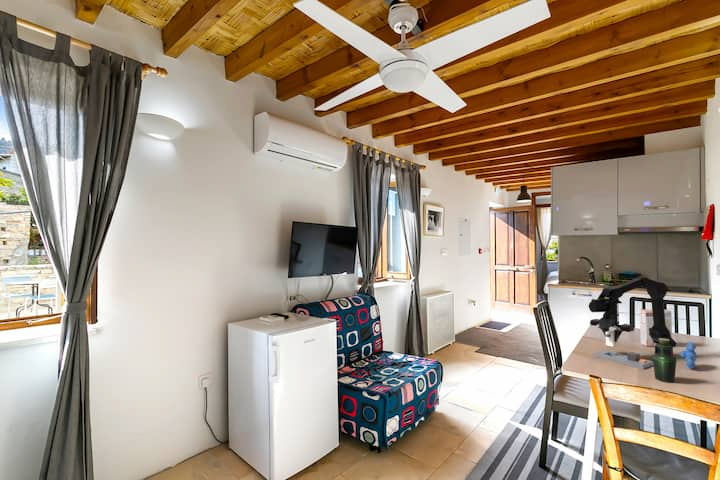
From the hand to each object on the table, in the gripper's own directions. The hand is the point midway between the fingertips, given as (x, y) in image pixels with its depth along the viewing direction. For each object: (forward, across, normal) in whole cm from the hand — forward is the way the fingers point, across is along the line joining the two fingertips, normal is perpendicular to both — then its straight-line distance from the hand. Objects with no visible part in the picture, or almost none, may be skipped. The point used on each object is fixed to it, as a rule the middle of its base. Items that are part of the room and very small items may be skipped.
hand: (611, 341), depth 188 cm
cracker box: (+9, +2, +45) cm, 46 cm away
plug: (+2, 0, 0) cm, 2 cm away
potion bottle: (+9, +27, -12) cm, 31 cm away
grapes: (+9, +26, +16) cm, 32 cm away
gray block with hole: (+9, +5, 0) cm, 10 cm away
